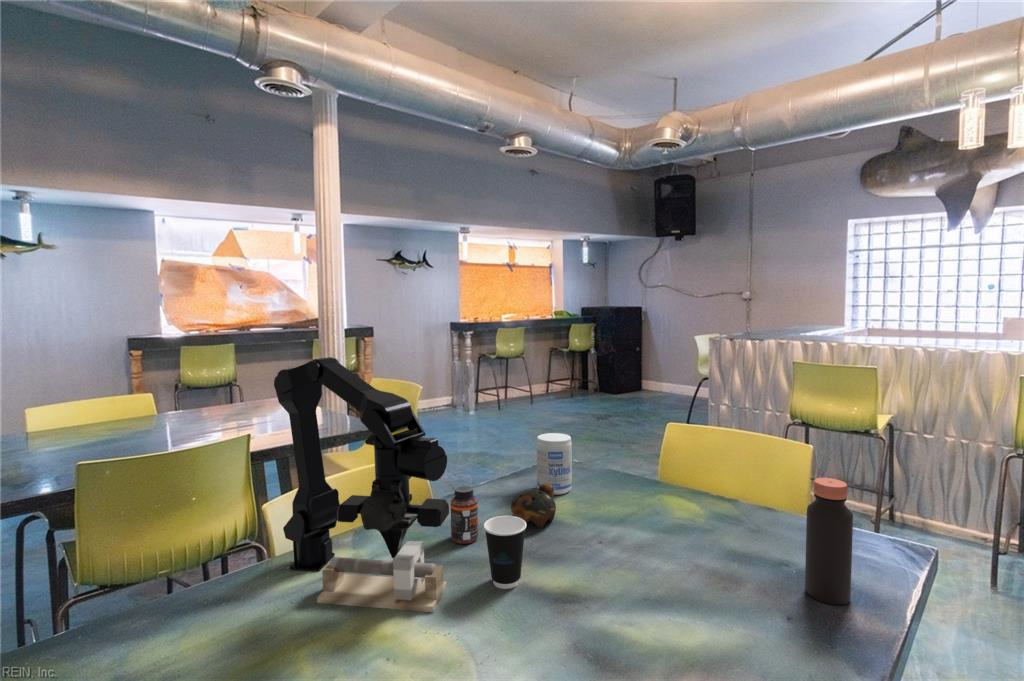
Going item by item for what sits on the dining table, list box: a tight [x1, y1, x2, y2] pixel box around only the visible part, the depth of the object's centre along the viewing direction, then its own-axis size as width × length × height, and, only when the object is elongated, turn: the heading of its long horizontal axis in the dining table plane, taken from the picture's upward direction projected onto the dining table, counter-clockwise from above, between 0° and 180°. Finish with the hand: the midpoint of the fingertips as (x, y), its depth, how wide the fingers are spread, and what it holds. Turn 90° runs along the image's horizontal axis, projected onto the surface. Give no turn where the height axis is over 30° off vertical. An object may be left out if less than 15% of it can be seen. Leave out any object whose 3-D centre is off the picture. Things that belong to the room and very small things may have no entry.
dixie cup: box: [482, 515, 527, 590], centre depth 96 cm, size 8×8×11 cm
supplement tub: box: [536, 432, 573, 496], centre depth 142 cm, size 10×10×15 cm
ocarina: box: [510, 483, 557, 529], centre depth 121 cm, size 10×15×8 cm, turn 148°
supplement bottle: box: [450, 485, 479, 545], centre depth 114 cm, size 6×6×11 cm
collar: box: [392, 540, 425, 600], centre depth 92 cm, size 3×7×7 cm, turn 171°
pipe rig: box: [316, 556, 448, 613], centre depth 93 cm, size 21×8×6 cm, turn 81°
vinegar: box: [804, 477, 854, 606], centre depth 89 cm, size 7×7×20 cm
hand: (395, 557), depth 92 cm, fingers closed
